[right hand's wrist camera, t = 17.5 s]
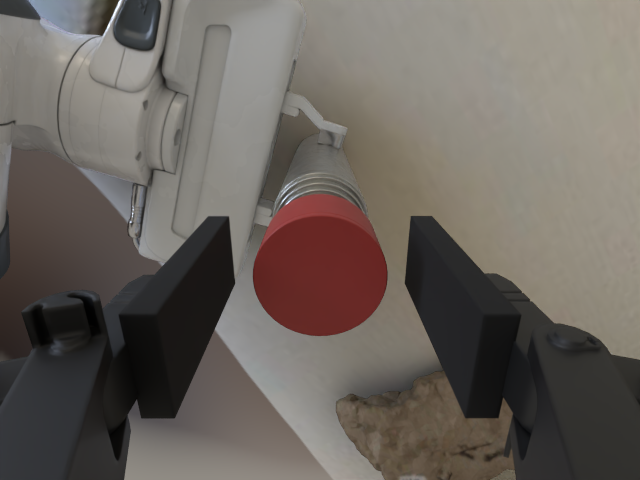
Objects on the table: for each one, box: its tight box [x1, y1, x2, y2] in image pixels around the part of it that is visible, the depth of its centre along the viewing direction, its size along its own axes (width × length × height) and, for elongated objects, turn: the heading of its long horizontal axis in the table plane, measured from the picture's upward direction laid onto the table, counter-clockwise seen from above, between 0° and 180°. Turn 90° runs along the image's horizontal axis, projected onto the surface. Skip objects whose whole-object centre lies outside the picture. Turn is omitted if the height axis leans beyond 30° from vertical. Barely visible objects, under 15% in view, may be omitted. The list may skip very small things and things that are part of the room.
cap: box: [253, 194, 387, 336], centre depth 13 cm, size 4×4×3 cm
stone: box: [336, 371, 515, 480], centre depth 41 cm, size 21×15×6 cm
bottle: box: [272, 134, 368, 219], centre depth 23 cm, size 4×4×23 cm
